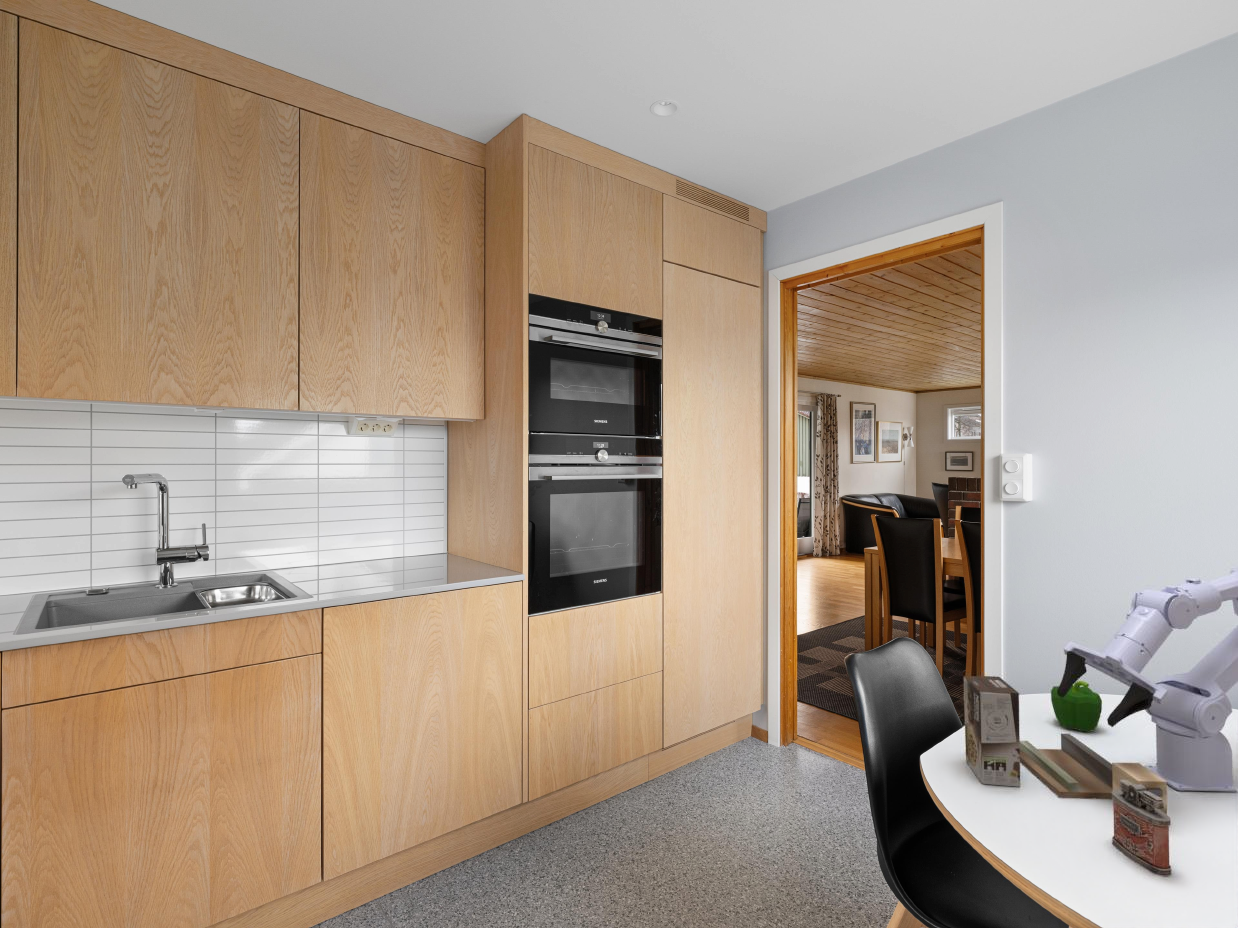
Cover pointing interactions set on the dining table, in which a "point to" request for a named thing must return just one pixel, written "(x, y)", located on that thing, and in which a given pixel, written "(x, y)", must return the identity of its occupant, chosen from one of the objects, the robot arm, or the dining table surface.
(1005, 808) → the dining table surface
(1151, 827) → the lighter
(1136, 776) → the oak cabinet block
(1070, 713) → the bell pepper
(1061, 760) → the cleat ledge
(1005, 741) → the coffee box
